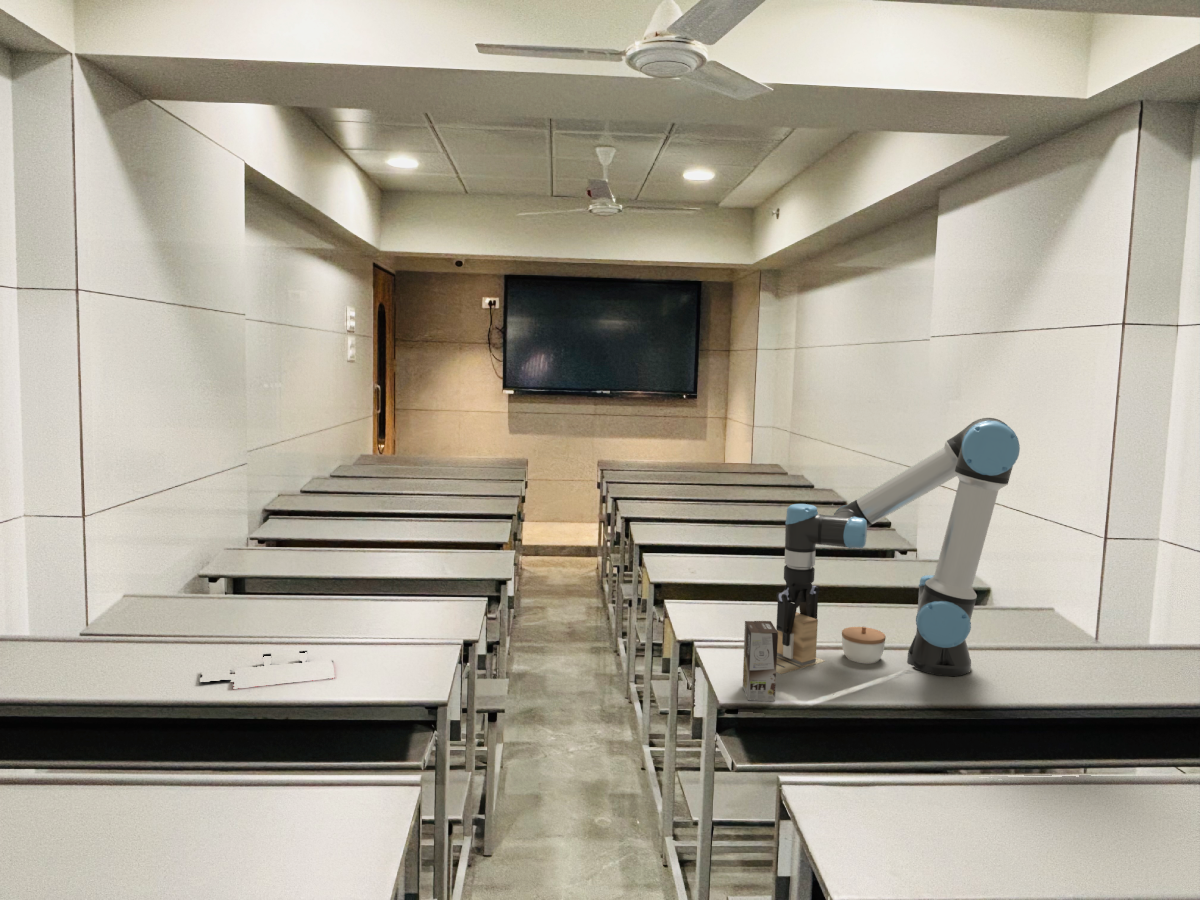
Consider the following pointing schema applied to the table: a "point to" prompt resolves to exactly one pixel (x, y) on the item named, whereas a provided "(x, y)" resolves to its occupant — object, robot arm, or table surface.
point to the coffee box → (760, 660)
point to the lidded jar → (863, 644)
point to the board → (791, 665)
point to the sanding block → (801, 640)
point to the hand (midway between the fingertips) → (795, 654)
